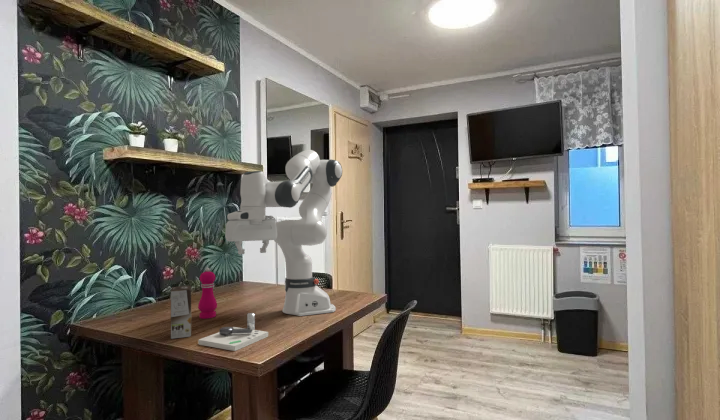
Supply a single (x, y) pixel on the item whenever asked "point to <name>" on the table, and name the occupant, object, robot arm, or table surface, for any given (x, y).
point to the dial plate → (233, 339)
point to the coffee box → (180, 312)
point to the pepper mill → (207, 295)
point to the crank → (247, 330)
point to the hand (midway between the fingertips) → (252, 253)
